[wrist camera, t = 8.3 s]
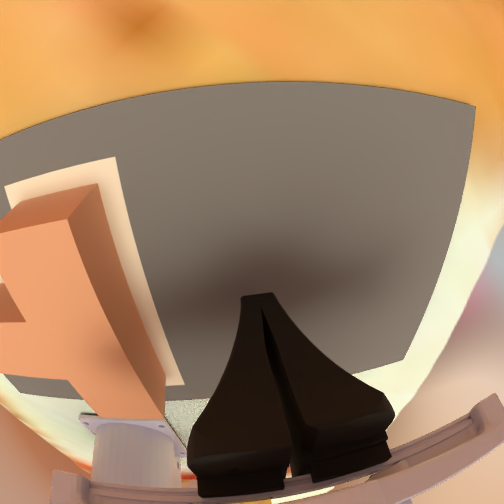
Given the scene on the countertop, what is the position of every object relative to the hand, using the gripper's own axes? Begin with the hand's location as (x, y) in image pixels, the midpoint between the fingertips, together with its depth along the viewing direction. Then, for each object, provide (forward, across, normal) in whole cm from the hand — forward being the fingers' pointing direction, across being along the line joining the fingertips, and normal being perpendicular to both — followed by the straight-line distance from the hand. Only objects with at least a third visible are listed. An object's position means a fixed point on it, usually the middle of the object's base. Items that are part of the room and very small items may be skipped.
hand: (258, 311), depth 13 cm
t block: (+1, +12, 0) cm, 12 cm away
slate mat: (+2, +4, 0) cm, 5 cm away
